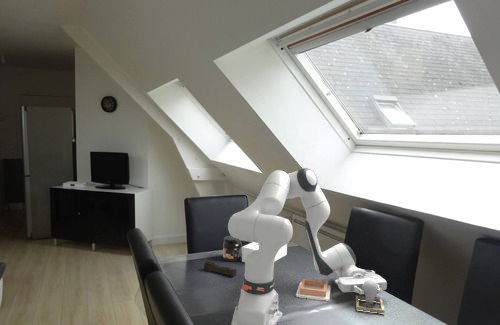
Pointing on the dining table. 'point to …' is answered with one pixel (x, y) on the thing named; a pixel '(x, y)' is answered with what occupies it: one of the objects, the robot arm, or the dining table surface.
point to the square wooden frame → (368, 307)
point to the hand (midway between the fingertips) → (371, 292)
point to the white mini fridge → (255, 246)
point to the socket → (313, 290)
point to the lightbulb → (370, 291)
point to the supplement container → (232, 249)
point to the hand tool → (219, 269)
